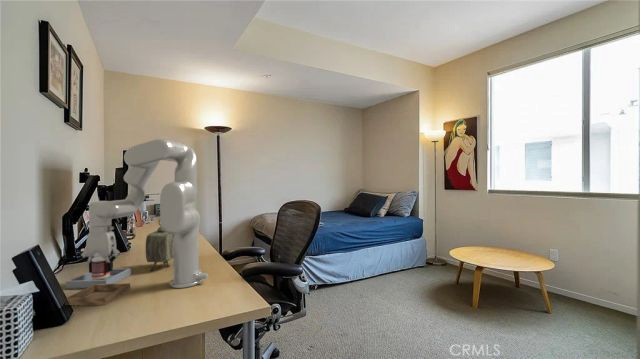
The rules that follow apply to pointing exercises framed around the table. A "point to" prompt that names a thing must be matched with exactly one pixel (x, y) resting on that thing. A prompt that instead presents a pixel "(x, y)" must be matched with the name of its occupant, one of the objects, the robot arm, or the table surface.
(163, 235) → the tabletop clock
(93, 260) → the pill bottle
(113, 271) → the slate tray
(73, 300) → the walnut frame
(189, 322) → the table surface
